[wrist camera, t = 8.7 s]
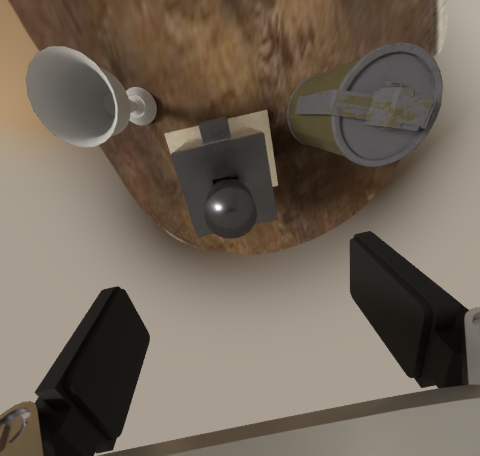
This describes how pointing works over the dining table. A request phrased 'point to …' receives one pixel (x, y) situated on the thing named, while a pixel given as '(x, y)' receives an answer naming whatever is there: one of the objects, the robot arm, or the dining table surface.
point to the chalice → (83, 98)
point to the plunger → (230, 208)
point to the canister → (369, 105)
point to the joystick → (225, 162)
